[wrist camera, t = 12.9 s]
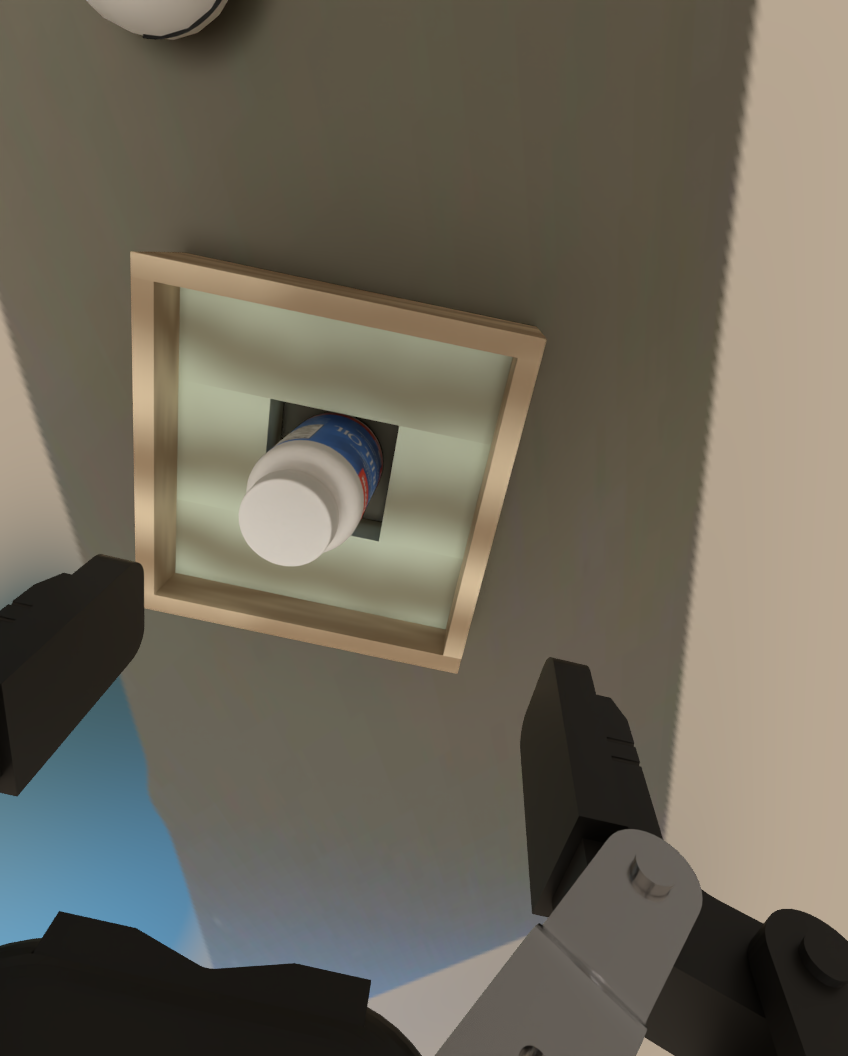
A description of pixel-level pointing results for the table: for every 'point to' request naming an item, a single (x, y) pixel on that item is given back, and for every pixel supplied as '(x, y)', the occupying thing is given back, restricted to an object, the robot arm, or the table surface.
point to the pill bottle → (310, 489)
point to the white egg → (160, 16)
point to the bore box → (334, 385)
